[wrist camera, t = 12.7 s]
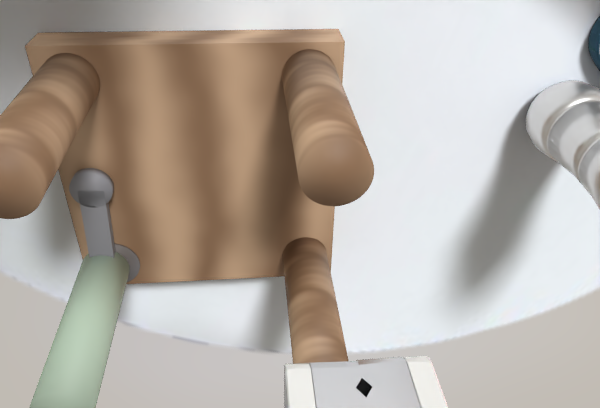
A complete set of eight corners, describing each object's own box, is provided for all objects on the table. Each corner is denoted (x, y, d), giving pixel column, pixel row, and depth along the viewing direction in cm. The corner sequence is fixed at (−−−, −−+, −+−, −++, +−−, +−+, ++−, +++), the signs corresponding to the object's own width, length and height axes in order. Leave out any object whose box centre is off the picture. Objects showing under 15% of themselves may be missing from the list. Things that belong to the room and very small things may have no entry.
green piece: (63, 167, 42) (-7, 300, 30) (116, 168, 43) (69, 300, 31) (85, 284, 49) (35, 431, 37) (131, 284, 49) (97, 428, 38)
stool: (97, 264, 52) (44, 423, 38) (38, 32, 40) (-72, 143, 26) (326, 253, 54) (356, 401, 40) (338, 29, 42) (388, 130, 28)
